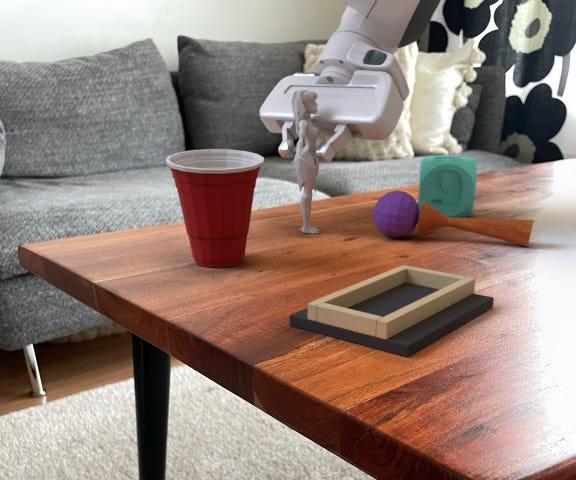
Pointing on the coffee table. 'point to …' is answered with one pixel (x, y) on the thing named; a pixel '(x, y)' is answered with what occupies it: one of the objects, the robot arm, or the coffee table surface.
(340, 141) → the robot arm
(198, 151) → the plastic cup
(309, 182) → the human figurine
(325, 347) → the coffee table surface
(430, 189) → the decorative dice
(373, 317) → the stand pad
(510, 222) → the kendama
